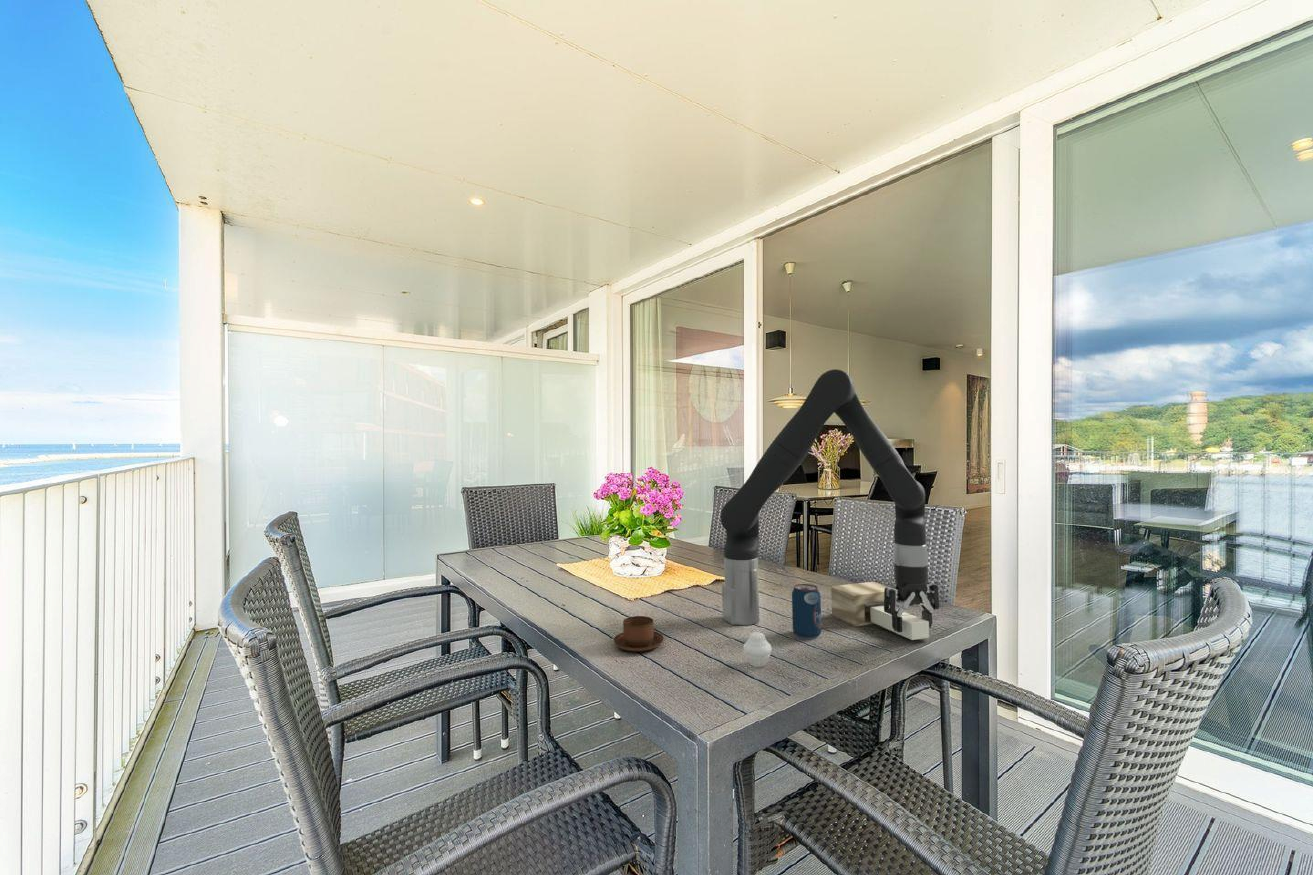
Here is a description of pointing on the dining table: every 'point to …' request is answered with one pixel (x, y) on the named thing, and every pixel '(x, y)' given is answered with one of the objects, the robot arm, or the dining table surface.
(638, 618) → the cup and saucer
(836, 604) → the dispenser
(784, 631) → the dining table surface
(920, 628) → the white two-segment bar
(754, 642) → the white rounded piece
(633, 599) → the dining table surface
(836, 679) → the dining table surface
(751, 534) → the robot arm
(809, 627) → the soda can
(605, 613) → the dining table surface
